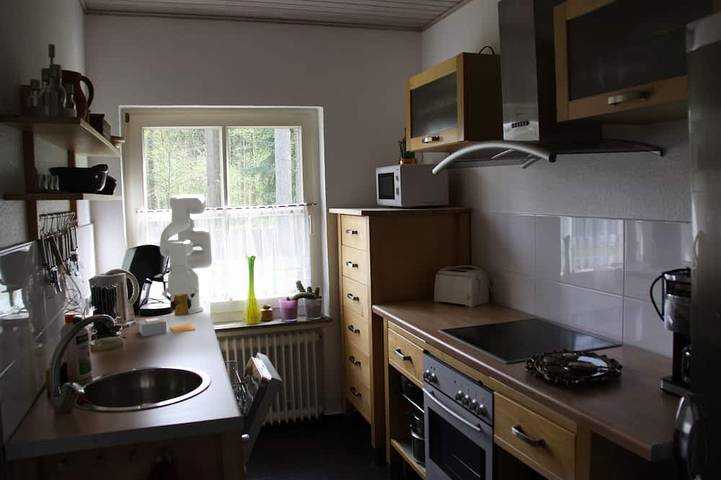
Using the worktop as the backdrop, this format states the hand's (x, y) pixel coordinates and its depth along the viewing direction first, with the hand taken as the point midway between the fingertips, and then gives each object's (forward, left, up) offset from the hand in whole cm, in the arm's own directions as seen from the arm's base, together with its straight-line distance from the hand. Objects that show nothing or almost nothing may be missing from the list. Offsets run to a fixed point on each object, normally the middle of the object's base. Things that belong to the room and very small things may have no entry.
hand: (181, 308), depth 268 cm
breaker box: (-1, -12, -9) cm, 16 cm away
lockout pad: (0, 0, -9) cm, 9 cm away
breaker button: (-1, -12, -7) cm, 15 cm away
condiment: (0, +1, -3) cm, 3 cm away
